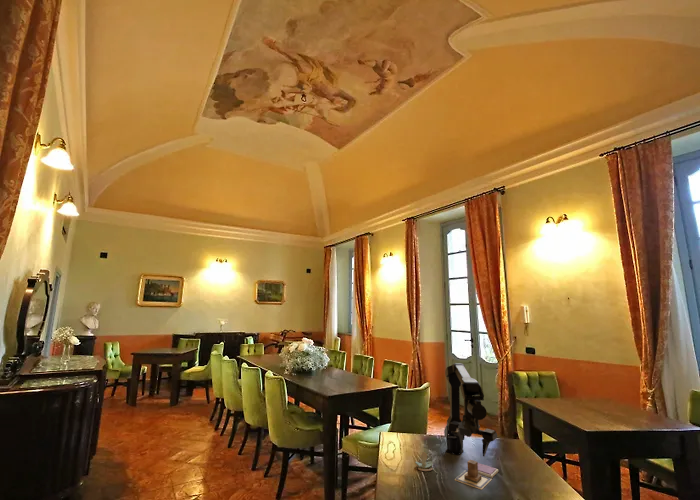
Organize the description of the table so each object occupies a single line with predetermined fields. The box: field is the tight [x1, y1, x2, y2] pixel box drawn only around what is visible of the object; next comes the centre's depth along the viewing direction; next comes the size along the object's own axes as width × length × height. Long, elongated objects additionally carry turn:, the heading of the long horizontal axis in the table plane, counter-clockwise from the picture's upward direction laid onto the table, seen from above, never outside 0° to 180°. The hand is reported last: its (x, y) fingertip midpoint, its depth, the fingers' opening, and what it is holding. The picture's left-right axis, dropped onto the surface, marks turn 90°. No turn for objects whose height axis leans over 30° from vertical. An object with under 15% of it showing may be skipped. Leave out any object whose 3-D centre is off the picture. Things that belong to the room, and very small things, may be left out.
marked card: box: [454, 469, 492, 491], centre depth 143 cm, size 11×11×1 cm
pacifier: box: [415, 451, 434, 472], centre depth 153 cm, size 7×6×6 cm
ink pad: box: [478, 462, 499, 479], centre depth 151 cm, size 10×8×1 cm
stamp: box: [464, 459, 481, 483], centre depth 144 cm, size 5×5×6 cm
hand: (472, 452), depth 144 cm, fingers open, 9 cm apart
